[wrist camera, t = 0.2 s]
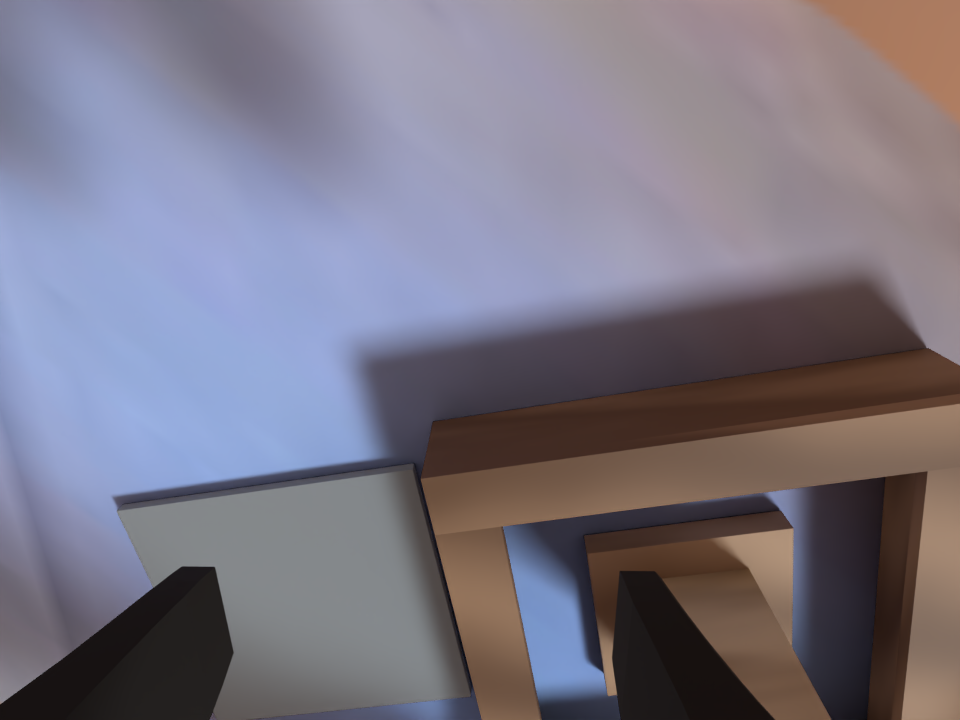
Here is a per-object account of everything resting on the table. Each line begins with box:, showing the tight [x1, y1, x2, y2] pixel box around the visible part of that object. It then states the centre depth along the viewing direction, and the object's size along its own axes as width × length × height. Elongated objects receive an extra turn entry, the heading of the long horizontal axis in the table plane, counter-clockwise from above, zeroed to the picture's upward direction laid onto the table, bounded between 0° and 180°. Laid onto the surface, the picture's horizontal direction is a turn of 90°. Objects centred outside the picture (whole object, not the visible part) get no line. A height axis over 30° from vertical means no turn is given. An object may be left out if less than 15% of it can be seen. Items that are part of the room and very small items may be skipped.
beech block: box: [662, 569, 831, 720], centre depth 19 cm, size 4×4×7 cm
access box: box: [421, 348, 960, 720], centre depth 22 cm, size 18×16×4 cm
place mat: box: [117, 463, 471, 720], centre depth 24 cm, size 11×11×1 cm
